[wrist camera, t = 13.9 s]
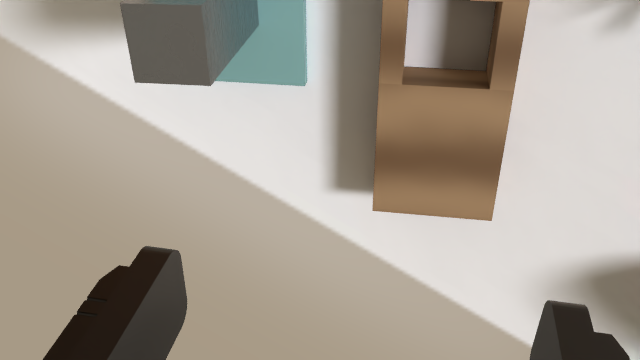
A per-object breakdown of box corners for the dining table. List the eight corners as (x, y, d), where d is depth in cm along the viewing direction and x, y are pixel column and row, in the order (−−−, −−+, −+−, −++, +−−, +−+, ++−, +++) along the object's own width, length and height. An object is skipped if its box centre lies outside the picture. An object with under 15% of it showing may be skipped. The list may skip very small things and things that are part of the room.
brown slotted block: (395, -198, 32) (392, -199, 30) (553, -199, 31) (563, -200, 29) (376, 187, 45) (372, 210, 42) (488, 196, 44) (491, 220, 41)
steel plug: (190, -42, 37) (119, 3, 29) (254, -41, 37) (201, 5, 28) (198, 23, 40) (134, 82, 31) (258, 25, 39) (210, 85, 30)
